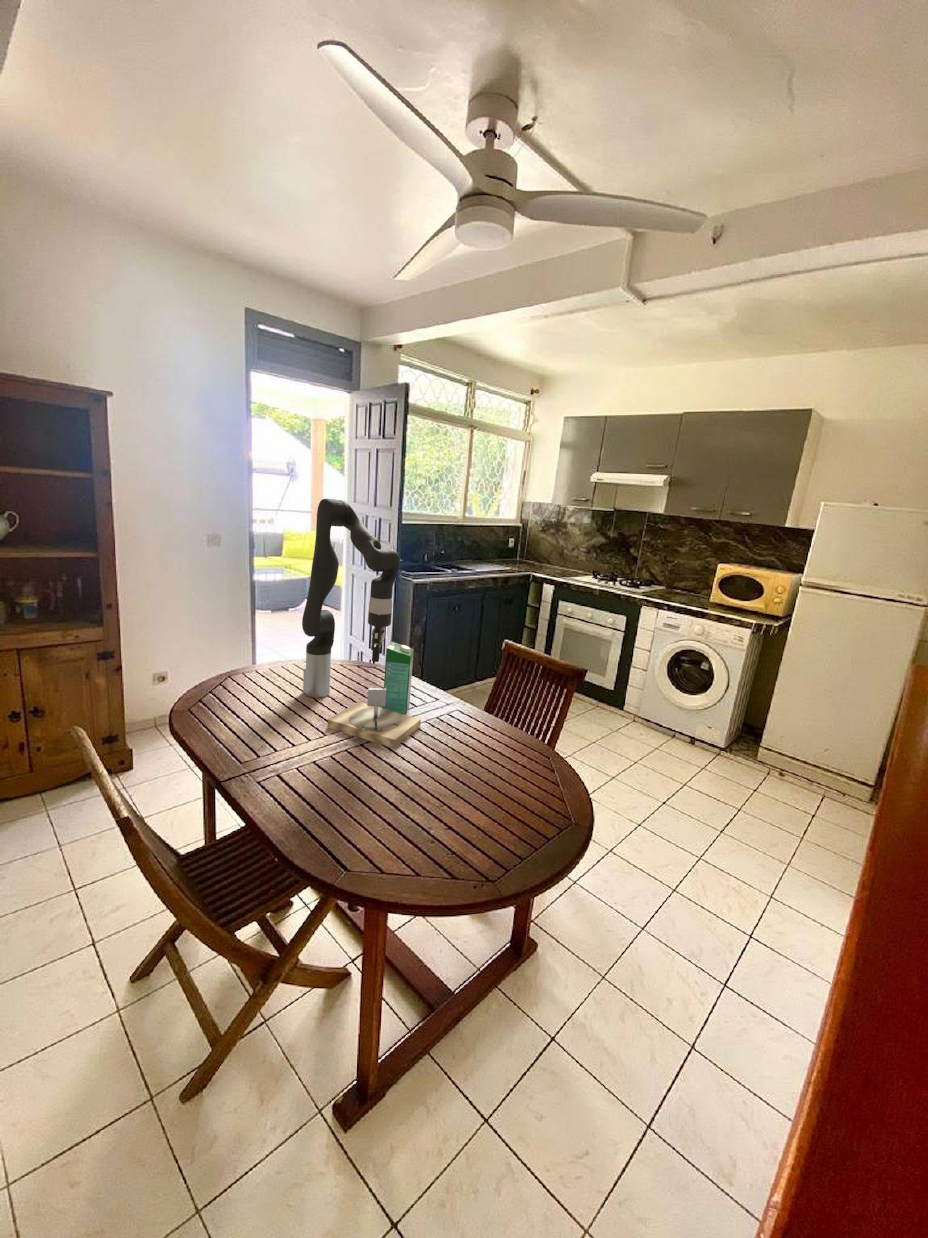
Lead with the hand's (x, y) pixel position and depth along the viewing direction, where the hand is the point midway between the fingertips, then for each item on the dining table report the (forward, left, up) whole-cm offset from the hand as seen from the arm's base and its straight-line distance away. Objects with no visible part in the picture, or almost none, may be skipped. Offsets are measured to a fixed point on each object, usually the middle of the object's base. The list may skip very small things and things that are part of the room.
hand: (377, 657), depth 166 cm
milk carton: (-1, +18, -26) cm, 31 cm away
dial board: (+1, 0, -25) cm, 25 cm away
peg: (+3, -4, -22) cm, 23 cm away
